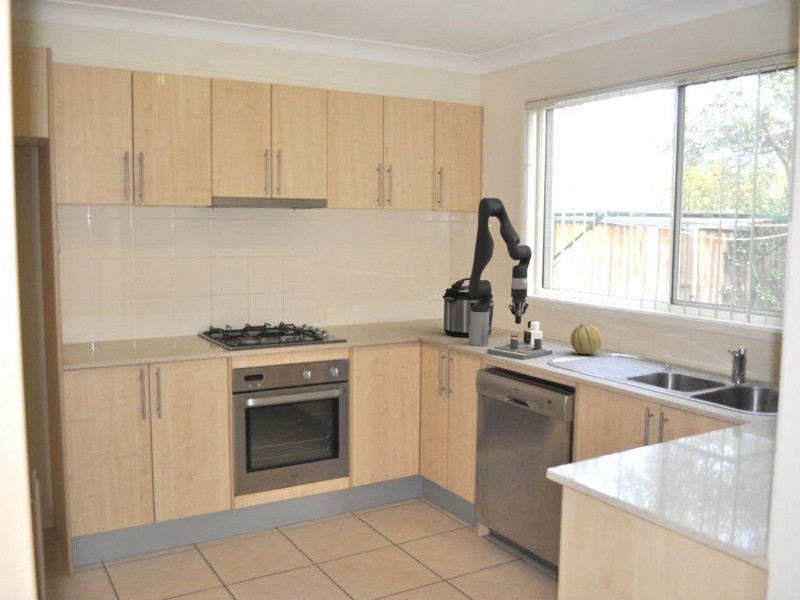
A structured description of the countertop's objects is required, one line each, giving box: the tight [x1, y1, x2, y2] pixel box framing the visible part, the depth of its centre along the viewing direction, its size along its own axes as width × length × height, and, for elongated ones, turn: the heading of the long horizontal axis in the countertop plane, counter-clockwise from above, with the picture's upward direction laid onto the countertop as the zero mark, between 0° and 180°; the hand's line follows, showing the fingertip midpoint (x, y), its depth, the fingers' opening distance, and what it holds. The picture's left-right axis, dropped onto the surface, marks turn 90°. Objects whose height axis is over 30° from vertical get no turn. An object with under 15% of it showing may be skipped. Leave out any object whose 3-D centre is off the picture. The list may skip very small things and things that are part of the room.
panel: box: [486, 343, 553, 361], centre depth 362 cm, size 22×22×3 cm
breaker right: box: [533, 338, 543, 351], centre depth 360 cm, size 3×3×6 cm
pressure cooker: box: [441, 277, 495, 338], centre depth 419 cm, size 30×28×32 cm
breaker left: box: [510, 334, 520, 345], centre depth 370 cm, size 3×3×6 cm
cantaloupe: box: [570, 323, 603, 356], centre depth 363 cm, size 15×15×15 cm
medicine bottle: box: [523, 320, 544, 346], centre depth 392 cm, size 7×7×12 cm
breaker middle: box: [509, 337, 519, 350], centre depth 359 cm, size 3×3×6 cm
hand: (518, 323), depth 359 cm, fingers closed
